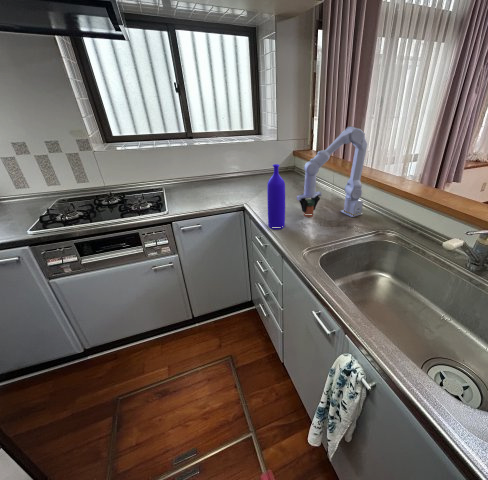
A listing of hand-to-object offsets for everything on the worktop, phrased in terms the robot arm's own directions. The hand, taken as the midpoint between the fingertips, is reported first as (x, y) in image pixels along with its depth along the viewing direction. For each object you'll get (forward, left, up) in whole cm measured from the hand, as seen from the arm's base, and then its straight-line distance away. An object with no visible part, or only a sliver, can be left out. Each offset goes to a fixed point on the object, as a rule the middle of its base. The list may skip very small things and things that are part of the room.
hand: (308, 210), depth 142 cm
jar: (0, 0, -3) cm, 3 cm away
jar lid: (0, 0, +5) cm, 5 cm away
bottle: (-3, +22, -3) cm, 22 cm away
